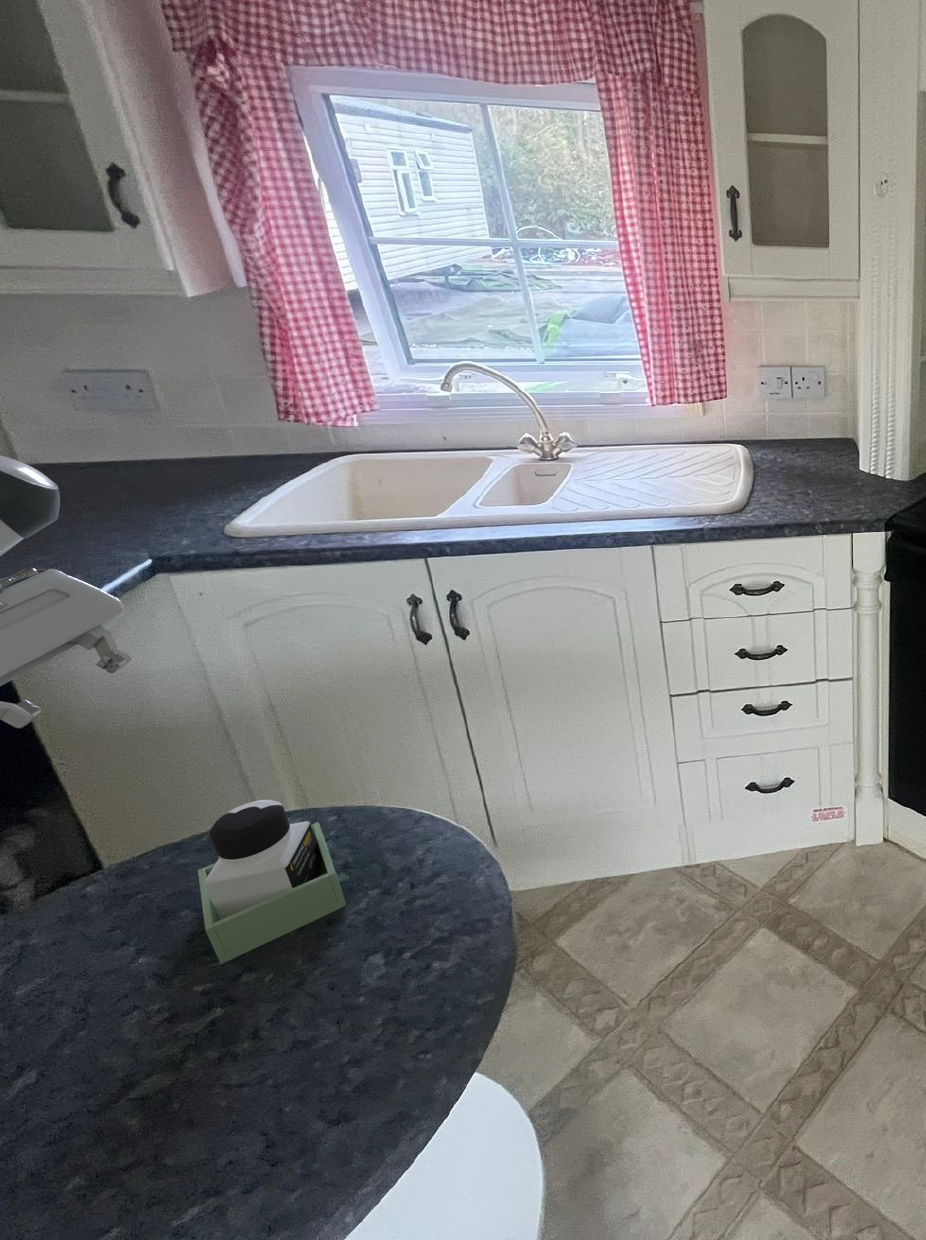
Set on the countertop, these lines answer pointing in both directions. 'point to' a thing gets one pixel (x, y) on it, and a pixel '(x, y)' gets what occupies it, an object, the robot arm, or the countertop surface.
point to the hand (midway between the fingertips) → (80, 691)
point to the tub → (272, 910)
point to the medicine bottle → (259, 856)
